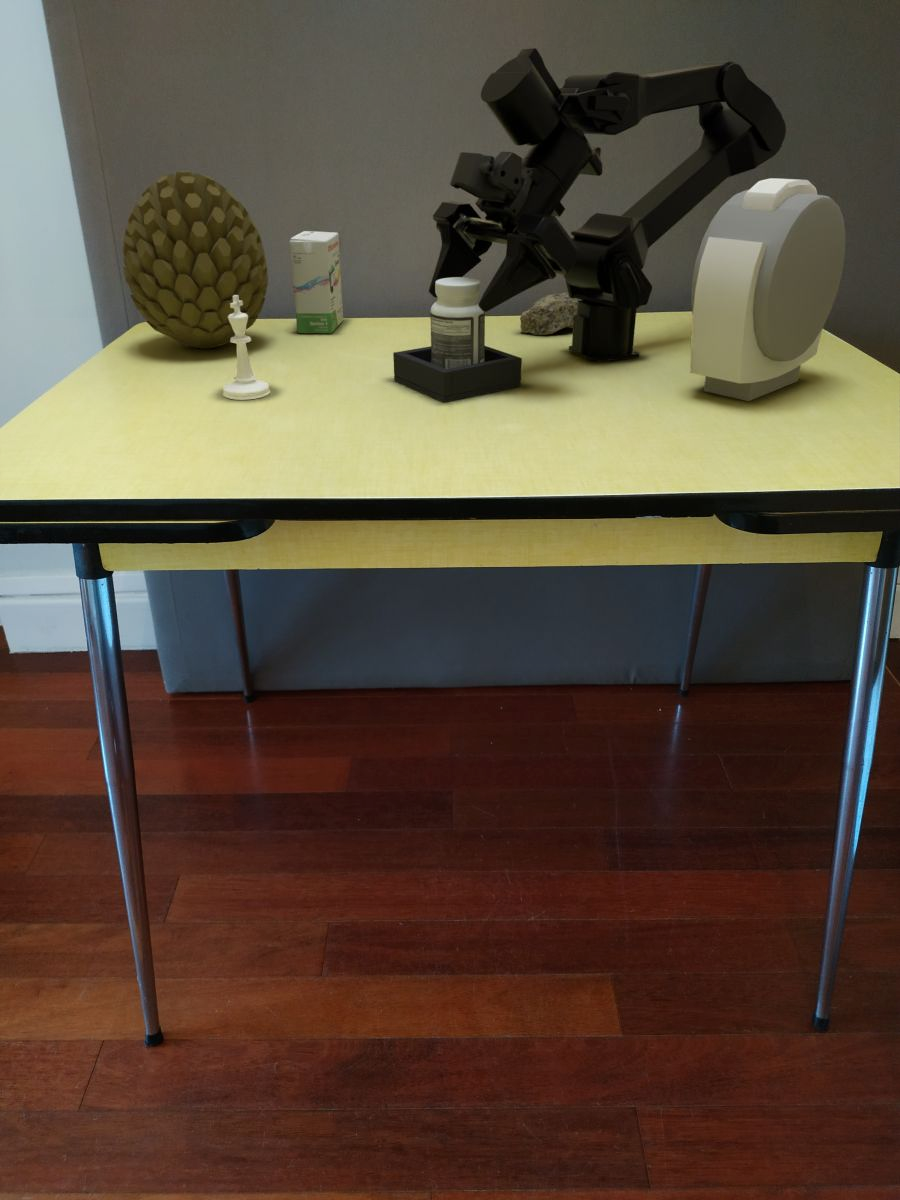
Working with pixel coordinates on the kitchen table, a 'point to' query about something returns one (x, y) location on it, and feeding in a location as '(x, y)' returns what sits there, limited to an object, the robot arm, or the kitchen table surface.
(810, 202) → the alarm clock
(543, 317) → the rock
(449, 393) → the socket pad
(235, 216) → the decorative object
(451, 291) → the pill bottle
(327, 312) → the ink box
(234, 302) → the chess piece
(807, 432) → the kitchen table surface
